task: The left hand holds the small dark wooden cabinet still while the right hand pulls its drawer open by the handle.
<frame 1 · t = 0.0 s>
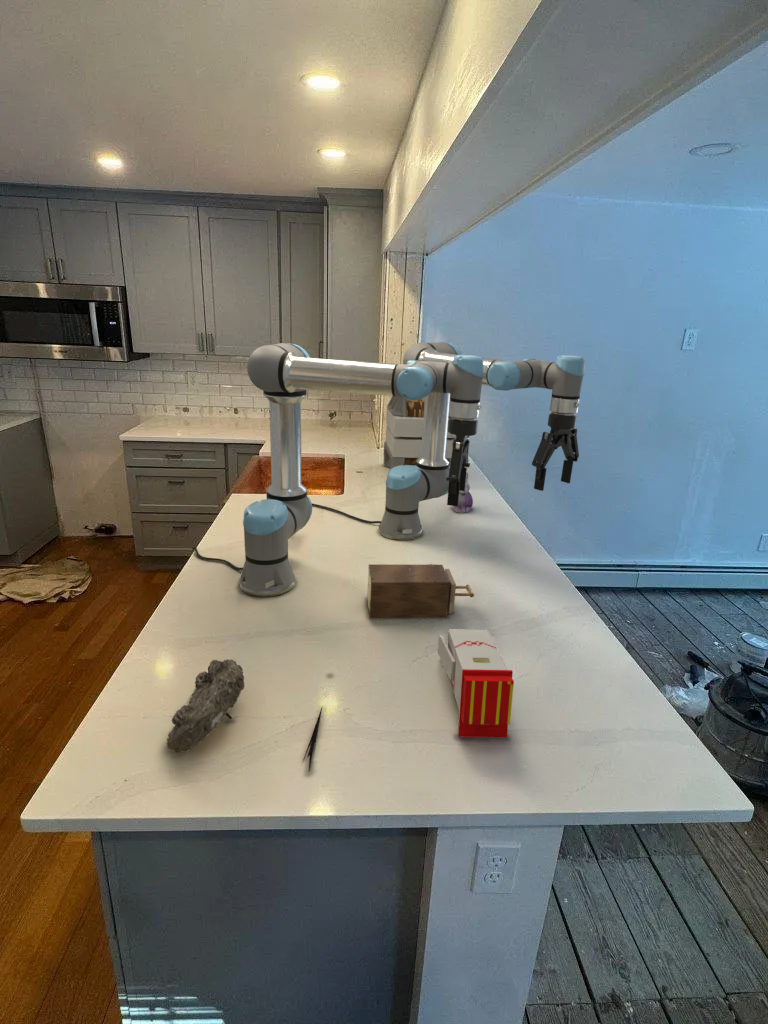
left hand: (456, 497, 151), 28 cm above the counter, tool pointing down, fingers open, 13 cm apart
right hand: (552, 485, 166), 28 cm above the counter, tool pointing down, fingers open, 13 cm apart
drawer: (426, 590, 150), point 5 cm above the counter, slide at 0.6 cm
feather: (319, 719, 109), on the counter
cabinet: (406, 607, 151), on the counter
white and red box: (469, 691, 119), on the counter
fossil: (212, 717, 108), on the counter
figurine: (462, 509, 227), on the counter
transformer: (419, 473, 275), on the counter
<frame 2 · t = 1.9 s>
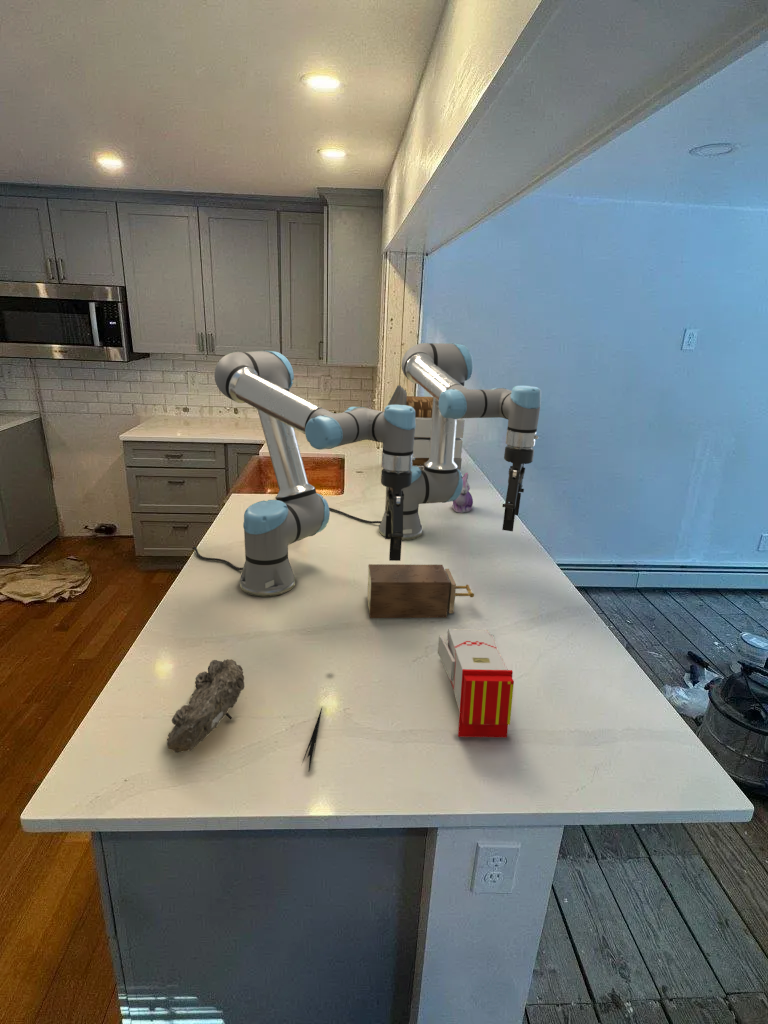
left hand: (392, 549, 146), 16 cm above the counter, tool pointing down, fingers open, 13 cm apart
right hand: (510, 522, 156), 21 cm above the counter, tool pointing down, fingers open, 13 cm apart
nothing on the counter moved.
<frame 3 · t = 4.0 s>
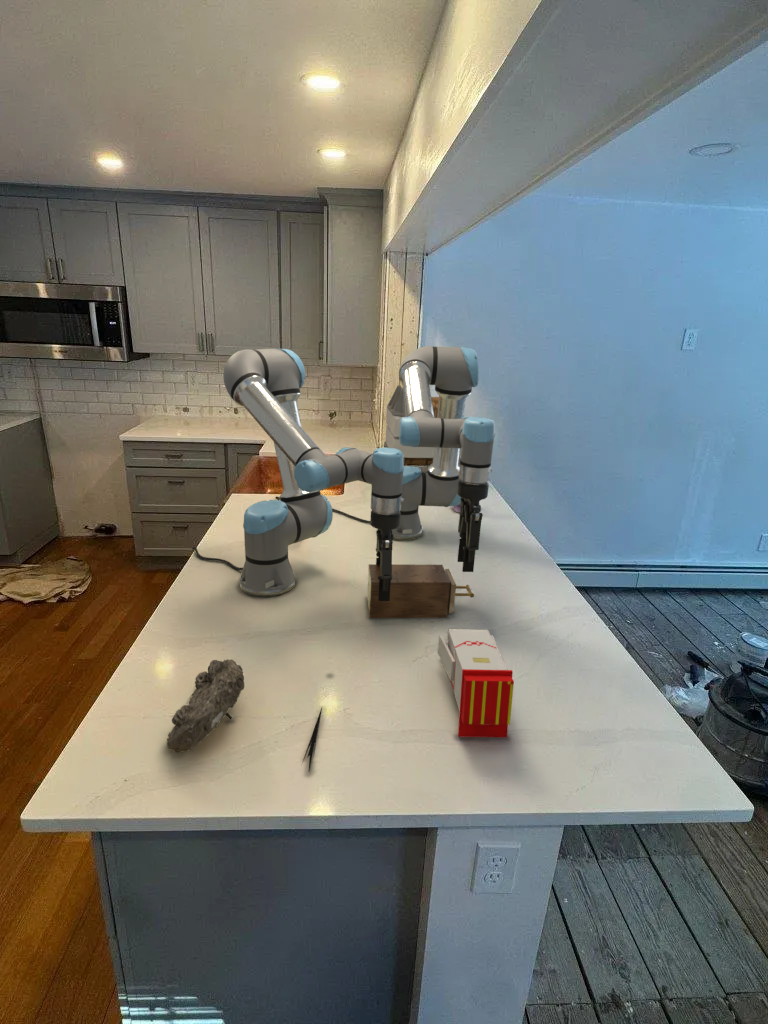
left hand: (382, 590, 148), 5 cm above the counter, tool pointing down, fingers closed on cabinet, 10 cm apart
right hand: (465, 566, 148), 12 cm above the counter, tool pointing down, fingers open, 5 cm apart
cabinet: (406, 607, 151), on the counter, touching left hand
everything else where it was.
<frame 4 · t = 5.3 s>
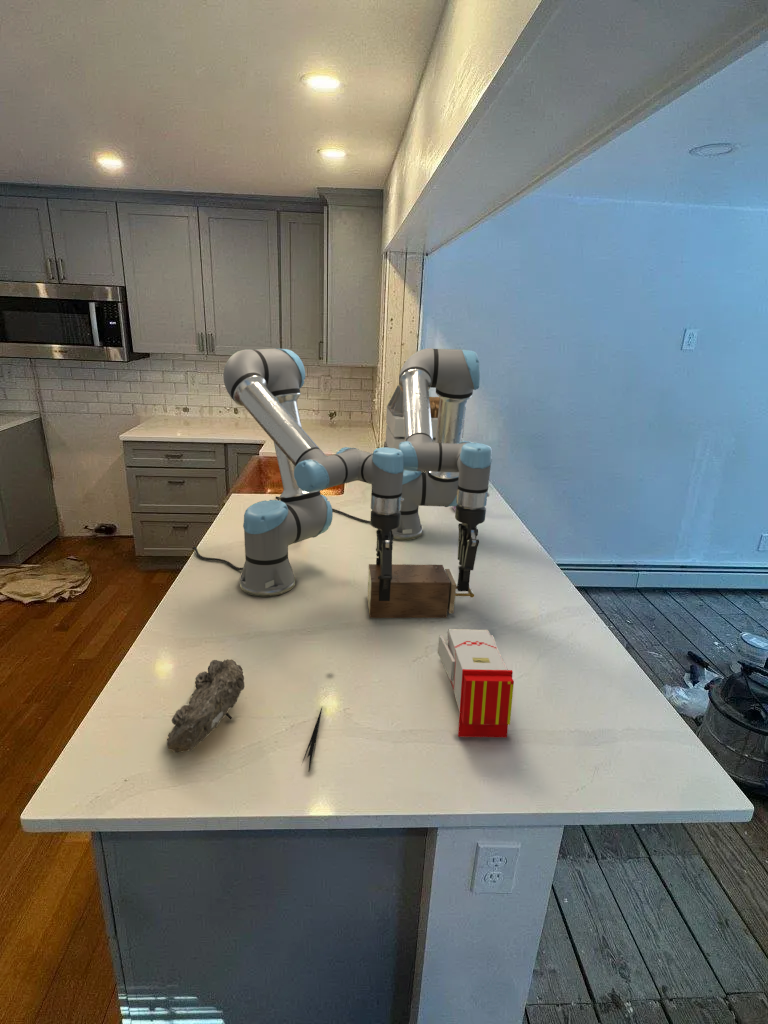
left hand: (382, 589, 148), 5 cm above the counter, tool pointing down, fingers closed on cabinet, 10 cm apart
right hand: (462, 589, 150), 5 cm above the counter, tool pointing down, fingers closed
drawer: (426, 590, 150), point 5 cm above the counter, slide at 0.6 cm, touching right hand
cabinet: (406, 607, 151), on the counter, touching left hand
everything else where it was.
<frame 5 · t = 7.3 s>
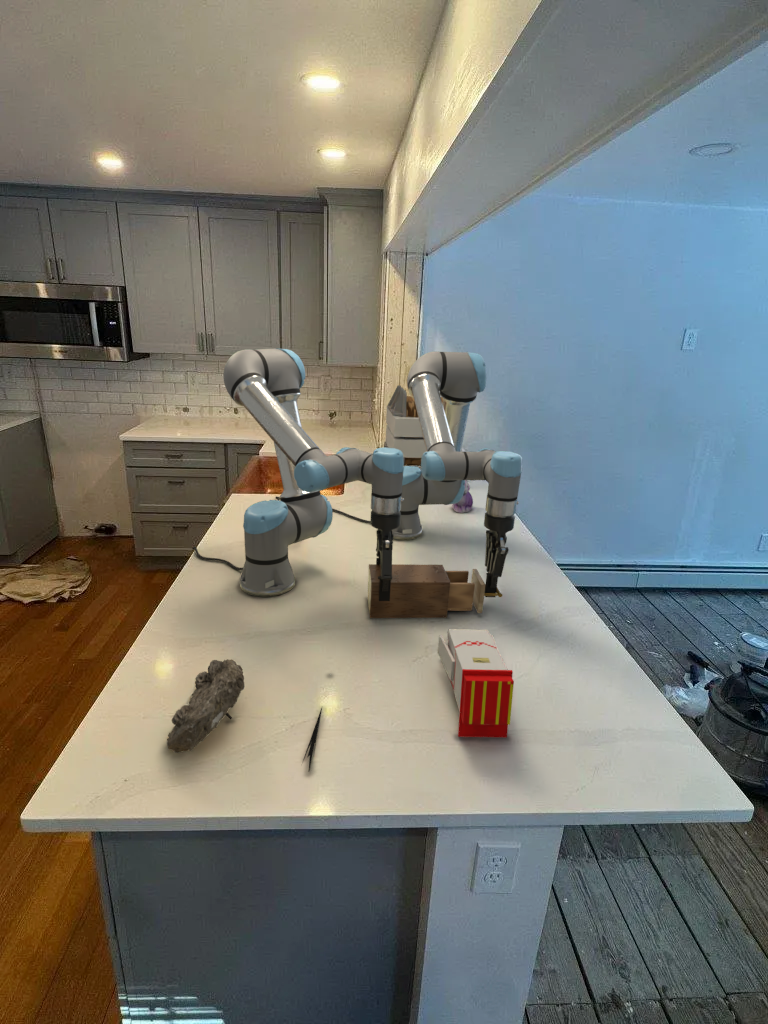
left hand: (382, 590, 148), 5 cm above the counter, tool pointing down, fingers closed on cabinet, 10 cm apart
right hand: (489, 595, 152), 4 cm above the counter, tool pointing down, fingers closed
drawer: (455, 590, 150), point 5 cm above the counter, slide at 8.2 cm, touching right hand
cabinet: (406, 607, 151), on the counter, touching left hand
everything else where it was.
when the left hand's fingers open (5 cm above the counter, at t = 9.1 s): cabinet stays where it is, on the counter.
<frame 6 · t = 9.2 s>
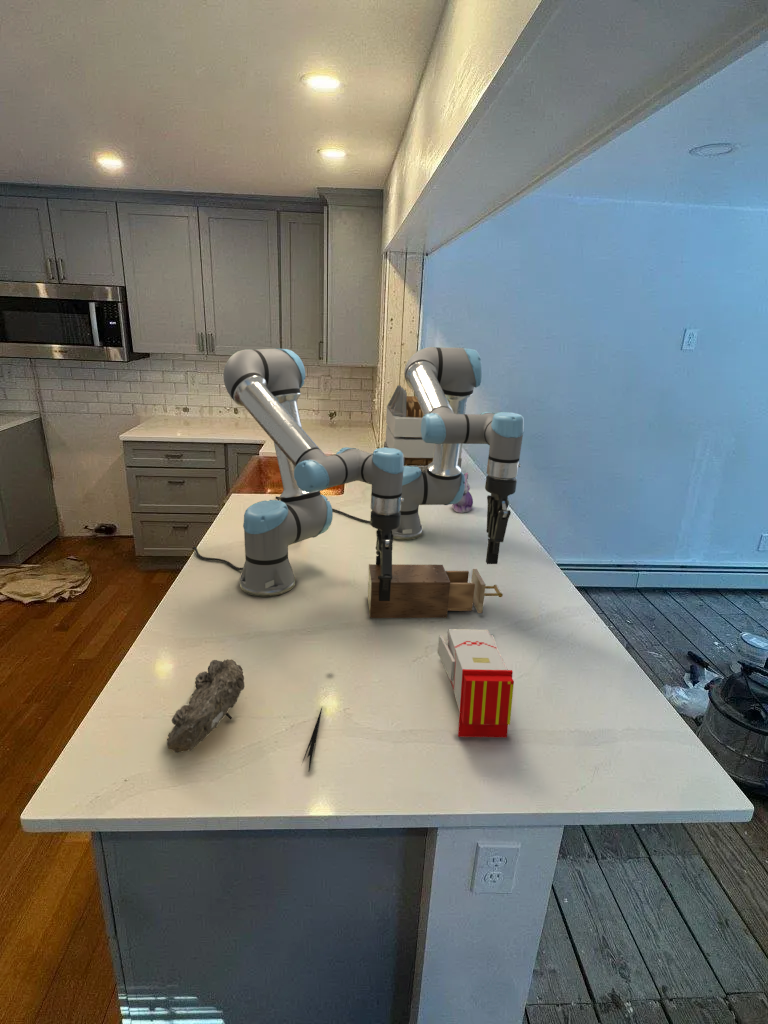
left hand: (382, 589, 148), 6 cm above the counter, tool pointing down, fingers open, 12 cm apart
right hand: (491, 562, 148), 13 cm above the counter, tool pointing down, fingers closed
drawer: (455, 590, 150), point 5 cm above the counter, slide at 8.2 cm
cabinet: (406, 607, 151), on the counter
everything else where it was.
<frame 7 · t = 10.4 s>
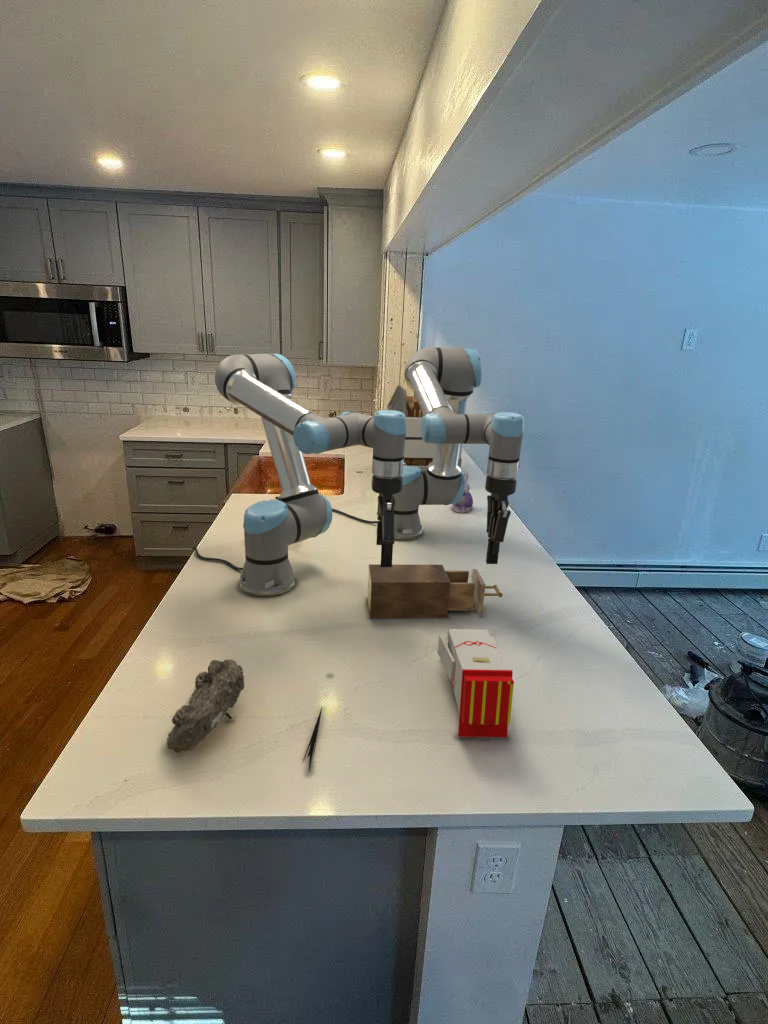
left hand: (383, 555, 145), 15 cm above the counter, tool pointing down, fingers open, 13 cm apart
right hand: (491, 562, 148), 13 cm above the counter, tool pointing down, fingers closed
nothing on the counter moved.
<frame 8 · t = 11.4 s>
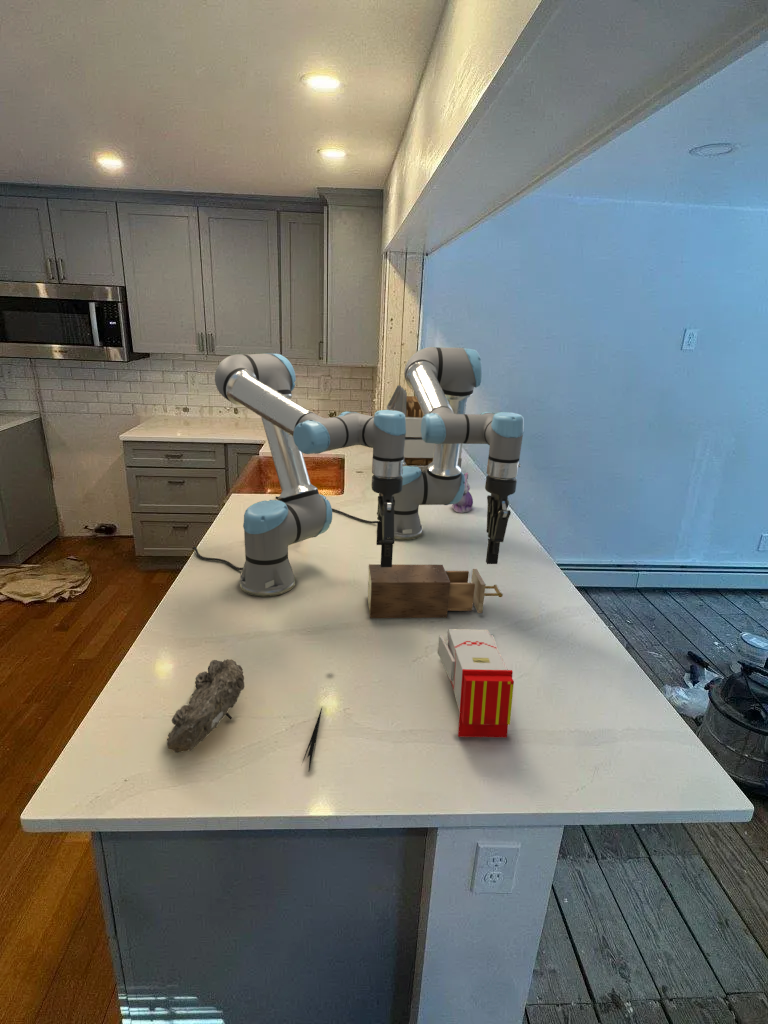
left hand: (383, 555, 145), 15 cm above the counter, tool pointing down, fingers open, 13 cm apart
right hand: (491, 562, 148), 13 cm above the counter, tool pointing down, fingers closed
nothing on the counter moved.
at the end: drawer slide at 8.2 cm; cabinet tilted 0°; cabinet never tilted more than 1° during the clip; cabinet moved 0.1 cm from its start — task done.
